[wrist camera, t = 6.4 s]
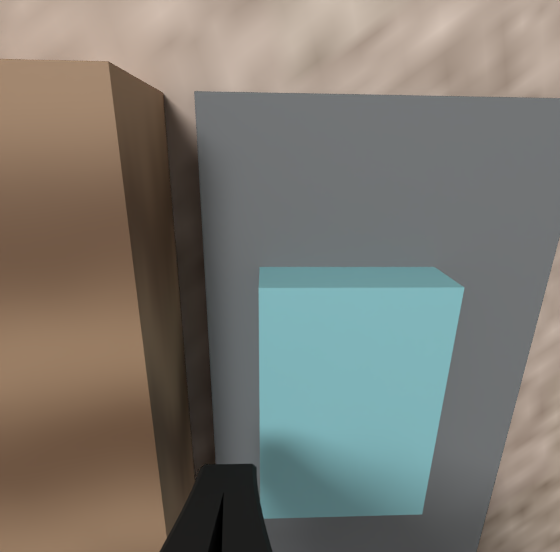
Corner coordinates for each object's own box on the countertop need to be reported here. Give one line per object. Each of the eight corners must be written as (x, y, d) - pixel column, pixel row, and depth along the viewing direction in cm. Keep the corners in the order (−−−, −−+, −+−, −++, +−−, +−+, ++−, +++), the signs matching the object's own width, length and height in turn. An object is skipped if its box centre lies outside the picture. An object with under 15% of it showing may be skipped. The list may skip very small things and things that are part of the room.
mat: (469, 551, 18) (474, 560, 17) (222, 559, 17) (221, 568, 17) (584, 100, 11) (595, 98, 11) (196, 93, 11) (194, 91, 11)
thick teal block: (260, 518, 13) (261, 473, 15) (421, 514, 14) (402, 469, 15) (258, 287, 10) (259, 267, 12) (464, 287, 11) (434, 266, 13)
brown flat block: (201, 560, 17) (183, 674, 14) (-16, 567, 17) (-98, 687, 13) (163, 92, 11) (108, 61, 7) (-190, 86, 10) (-448, 49, 7)
